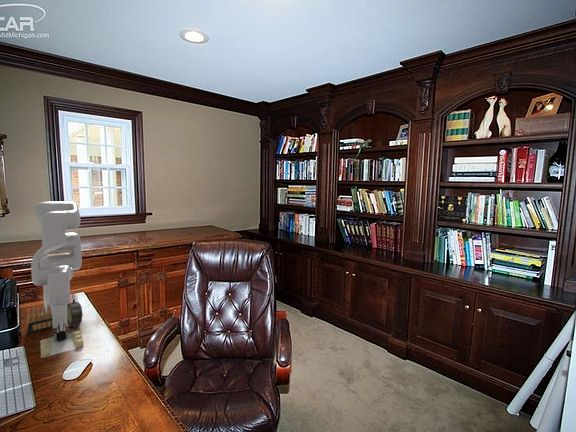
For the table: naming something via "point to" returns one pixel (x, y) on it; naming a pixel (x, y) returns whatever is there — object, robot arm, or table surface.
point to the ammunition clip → (39, 320)
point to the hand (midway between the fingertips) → (61, 339)
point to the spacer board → (61, 344)
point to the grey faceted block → (56, 335)
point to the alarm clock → (74, 313)
